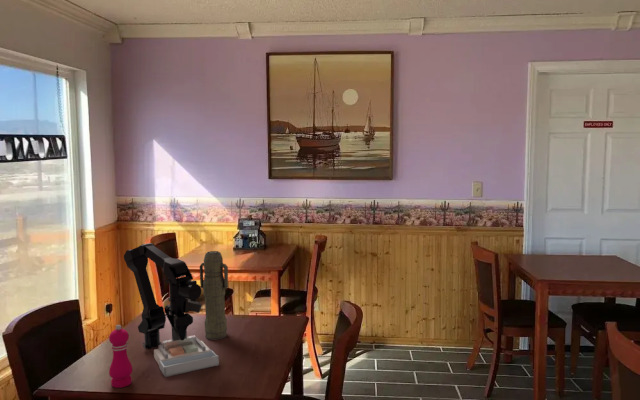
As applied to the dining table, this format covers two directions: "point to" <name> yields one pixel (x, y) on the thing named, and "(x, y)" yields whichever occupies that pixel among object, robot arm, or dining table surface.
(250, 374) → the dining table surface
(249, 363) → the dining table surface
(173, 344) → the grey panel
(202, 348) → the white shallow box
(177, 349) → the terracotta tile
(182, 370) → the tray
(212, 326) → the thermos
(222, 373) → the dining table surface
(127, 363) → the pepper mill
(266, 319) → the dining table surface
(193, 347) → the sage tile
